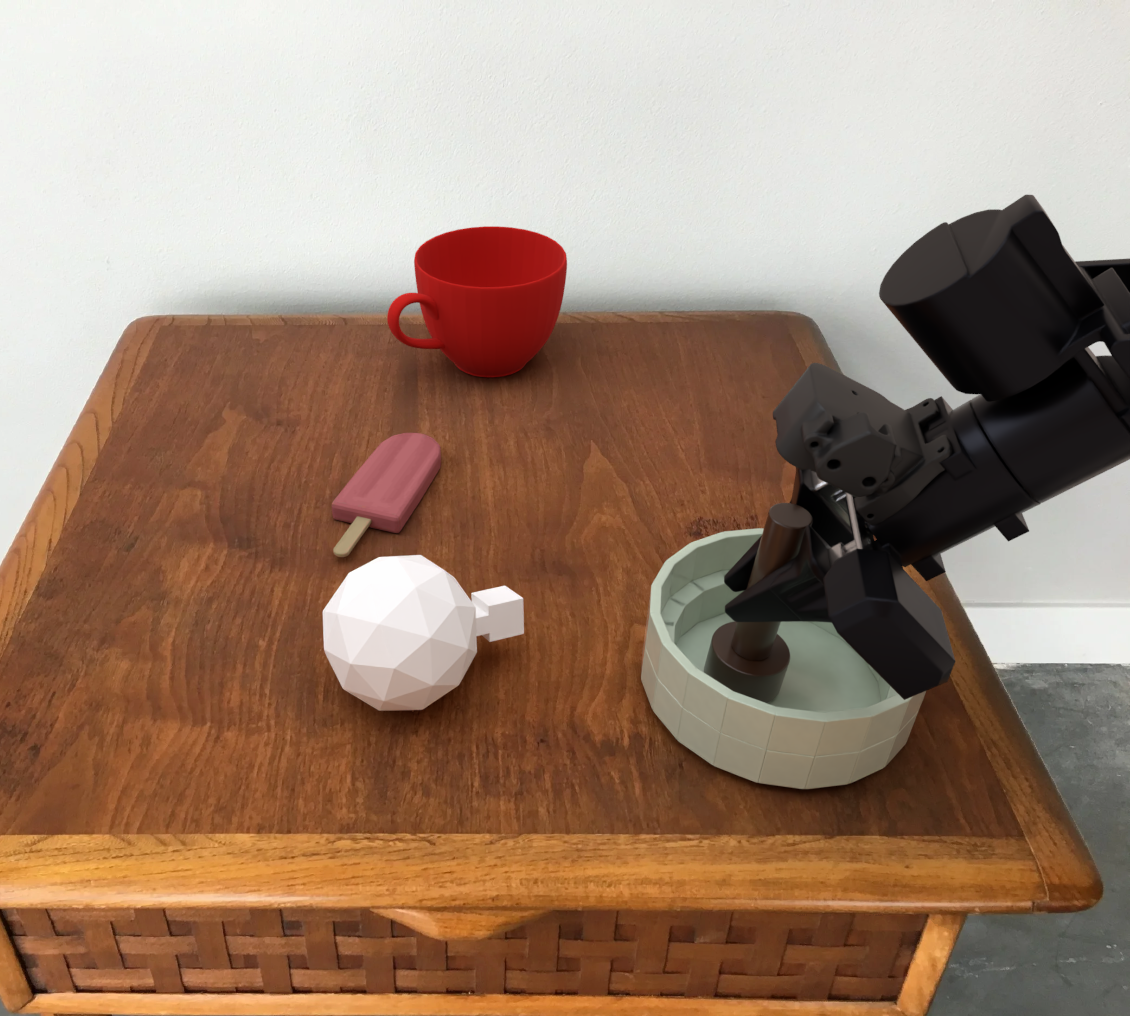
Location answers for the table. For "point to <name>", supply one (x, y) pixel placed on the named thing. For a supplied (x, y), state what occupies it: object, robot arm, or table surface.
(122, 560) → the table surface
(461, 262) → the ceramic cup
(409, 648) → the perfume bottle
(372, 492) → the popsicle
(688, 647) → the bowl
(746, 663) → the pestle
